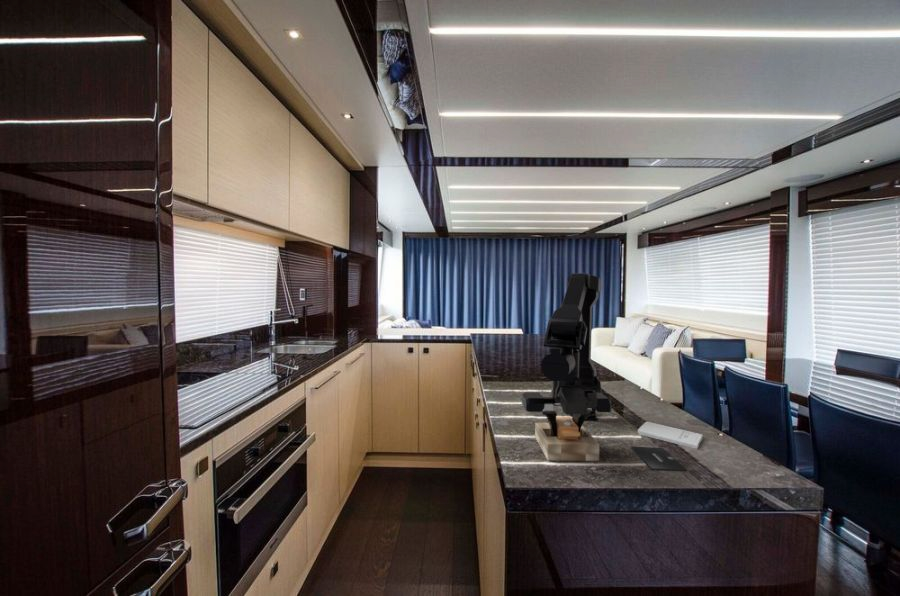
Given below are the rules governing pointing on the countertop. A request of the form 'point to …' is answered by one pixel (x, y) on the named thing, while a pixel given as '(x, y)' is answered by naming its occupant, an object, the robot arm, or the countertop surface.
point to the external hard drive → (671, 434)
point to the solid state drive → (658, 459)
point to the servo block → (566, 428)
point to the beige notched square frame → (566, 445)
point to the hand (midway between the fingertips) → (564, 439)
